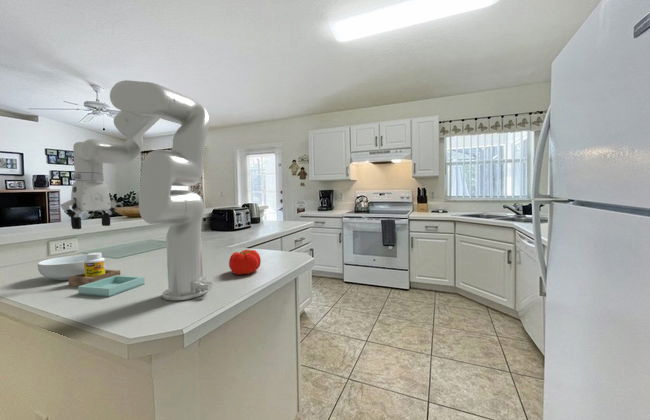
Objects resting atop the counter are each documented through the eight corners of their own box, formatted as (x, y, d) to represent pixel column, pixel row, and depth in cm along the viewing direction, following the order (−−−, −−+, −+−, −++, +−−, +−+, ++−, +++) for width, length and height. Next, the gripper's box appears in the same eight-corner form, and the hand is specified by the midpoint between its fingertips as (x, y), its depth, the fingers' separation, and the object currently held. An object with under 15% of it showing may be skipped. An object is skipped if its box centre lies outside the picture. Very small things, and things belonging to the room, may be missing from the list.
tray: (144, 284, 92) (144, 277, 92) (109, 297, 80) (108, 288, 80) (116, 282, 94) (116, 275, 94) (78, 294, 83) (78, 286, 83)
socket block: (120, 278, 99) (120, 270, 99) (91, 287, 89) (91, 278, 89) (99, 277, 101) (98, 269, 101) (68, 285, 91) (68, 277, 91)
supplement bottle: (83, 285, 91) (82, 256, 91) (86, 281, 96) (85, 253, 95) (104, 282, 94) (103, 253, 94) (106, 278, 99) (105, 251, 98)
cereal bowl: (70, 284, 93) (69, 264, 93) (24, 284, 93) (22, 264, 93) (110, 270, 110) (110, 253, 110) (71, 271, 110) (70, 254, 110)
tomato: (243, 267, 113) (243, 247, 112) (267, 270, 107) (266, 249, 107) (219, 275, 101) (219, 253, 101) (244, 279, 96) (244, 255, 95)
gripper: (69, 176, 84) (72, 230, 85) (122, 179, 101) (124, 224, 102) (51, 177, 86) (54, 230, 87) (106, 180, 103) (108, 224, 103)
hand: (92, 227), depth 94 cm, fingers open, 9 cm apart
